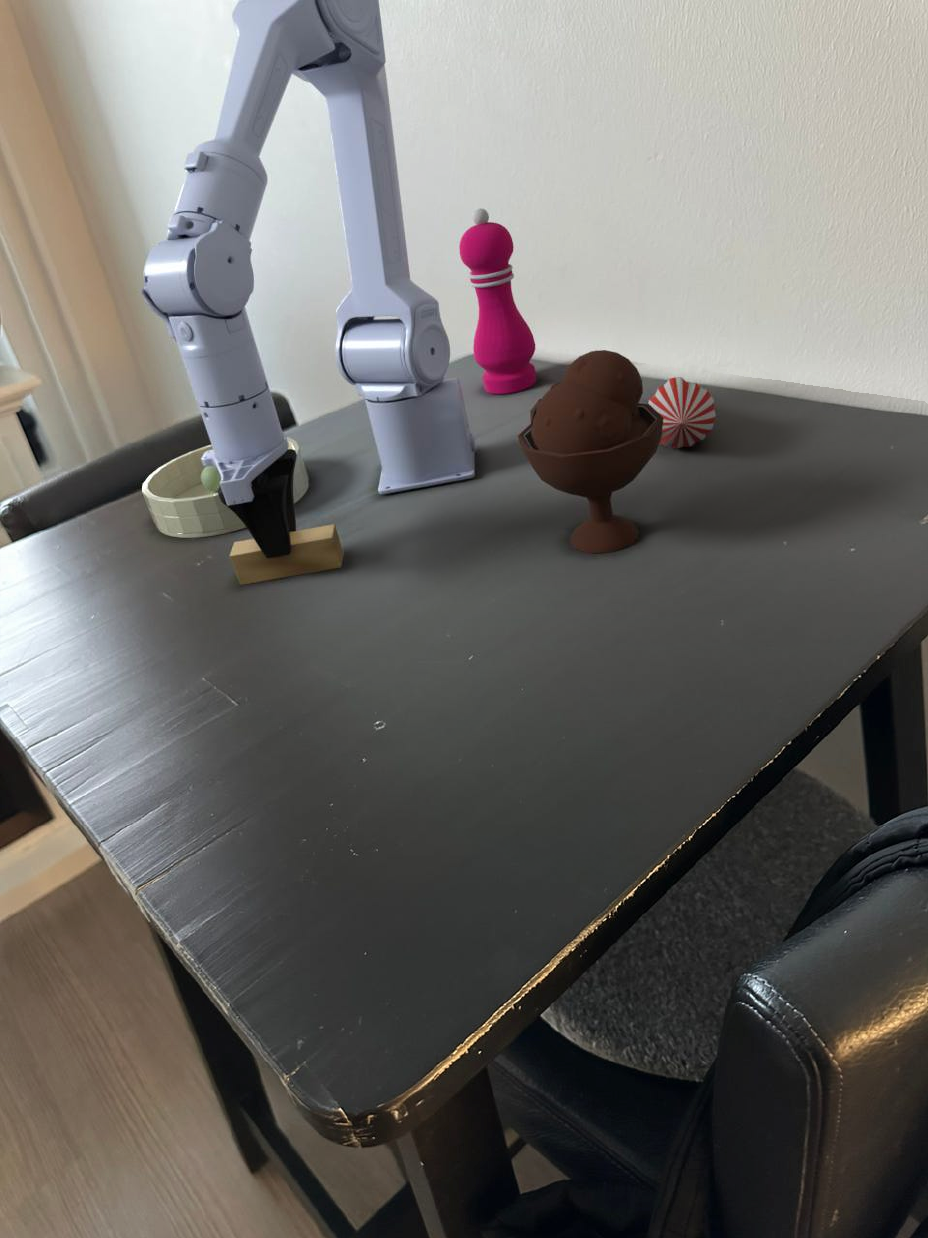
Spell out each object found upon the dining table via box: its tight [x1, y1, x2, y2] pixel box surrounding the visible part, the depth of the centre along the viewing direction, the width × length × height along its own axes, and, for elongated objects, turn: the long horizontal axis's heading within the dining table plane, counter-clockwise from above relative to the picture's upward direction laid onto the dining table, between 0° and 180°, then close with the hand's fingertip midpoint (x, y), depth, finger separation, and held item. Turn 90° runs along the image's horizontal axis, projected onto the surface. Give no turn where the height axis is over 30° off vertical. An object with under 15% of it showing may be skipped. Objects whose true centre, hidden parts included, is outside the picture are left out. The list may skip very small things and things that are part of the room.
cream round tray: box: [141, 436, 310, 539], centre depth 105 cm, size 16×16×4 cm
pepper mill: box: [458, 208, 538, 395], centre depth 116 cm, size 7×7×20 cm
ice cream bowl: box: [517, 349, 663, 554], centre depth 79 cm, size 11×11×15 cm
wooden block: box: [229, 523, 345, 586], centre depth 88 cm, size 9×2×3 cm, turn 90°
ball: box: [201, 465, 222, 491], centre depth 108 cm, size 3×3×3 cm
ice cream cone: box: [648, 376, 717, 449], centre depth 97 cm, size 6×6×20 cm
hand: (281, 546), depth 88 cm, fingers closed on wooden block, 2 cm apart
